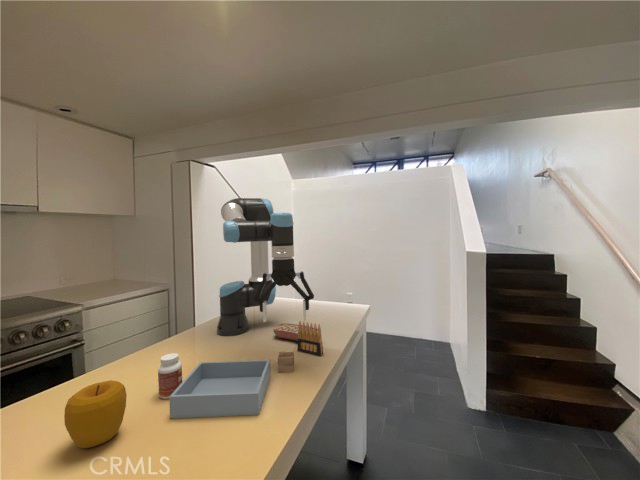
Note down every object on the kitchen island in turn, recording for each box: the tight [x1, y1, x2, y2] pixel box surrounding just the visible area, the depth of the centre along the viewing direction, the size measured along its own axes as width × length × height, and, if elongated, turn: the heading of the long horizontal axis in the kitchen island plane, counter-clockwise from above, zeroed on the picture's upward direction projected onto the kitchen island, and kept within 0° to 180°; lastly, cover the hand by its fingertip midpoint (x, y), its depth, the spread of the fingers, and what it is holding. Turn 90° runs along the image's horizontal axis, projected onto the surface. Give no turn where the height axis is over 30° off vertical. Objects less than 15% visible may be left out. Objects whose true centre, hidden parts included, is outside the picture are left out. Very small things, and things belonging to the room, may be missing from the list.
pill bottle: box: [157, 352, 183, 400], centre depth 80 cm, size 6×6×11 cm
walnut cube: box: [277, 351, 295, 374], centre depth 93 cm, size 5×5×5 cm
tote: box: [168, 359, 271, 419], centre depth 78 cm, size 19×23×6 cm
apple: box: [63, 379, 128, 449], centre depth 62 cm, size 11×11×13 cm
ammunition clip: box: [297, 320, 324, 357], centre depth 105 cm, size 11×2×12 cm, turn 60°
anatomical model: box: [272, 322, 318, 342], centre depth 118 cm, size 23×10×5 cm, turn 59°
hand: (285, 320), depth 92 cm, fingers open, 13 cm apart
